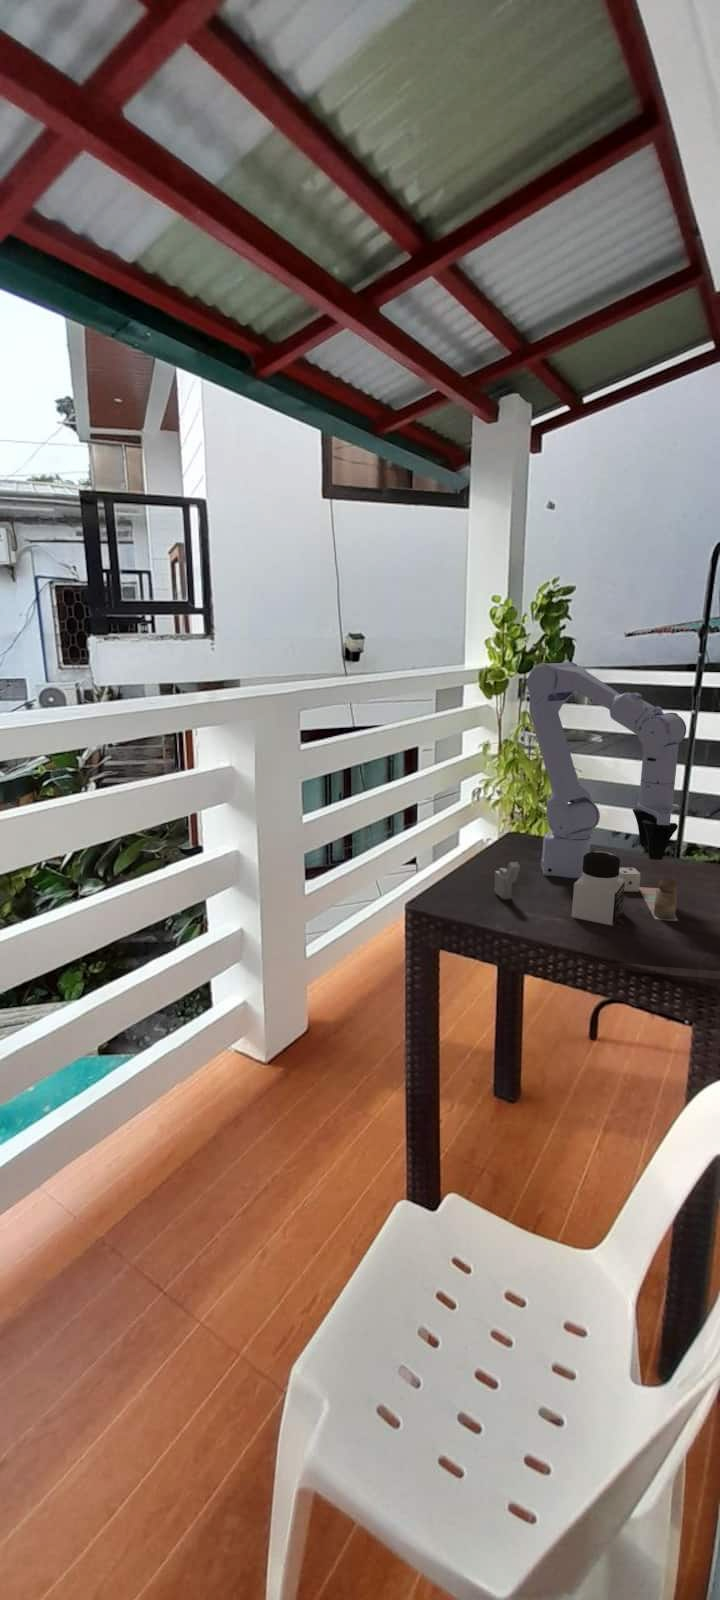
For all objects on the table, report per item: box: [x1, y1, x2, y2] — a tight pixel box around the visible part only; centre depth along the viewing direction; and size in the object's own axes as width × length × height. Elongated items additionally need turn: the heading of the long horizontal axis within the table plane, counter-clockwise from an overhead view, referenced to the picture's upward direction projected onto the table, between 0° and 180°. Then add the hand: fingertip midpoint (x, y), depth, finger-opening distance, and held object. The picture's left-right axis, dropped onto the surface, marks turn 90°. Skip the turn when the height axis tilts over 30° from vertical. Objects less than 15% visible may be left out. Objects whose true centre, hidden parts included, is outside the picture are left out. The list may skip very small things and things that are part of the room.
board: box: [639, 886, 679, 922], centre depth 129 cm, size 8×19×1 cm, turn 169°
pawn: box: [654, 876, 678, 919], centre depth 122 cm, size 3×3×7 cm
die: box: [619, 867, 641, 893], centre depth 136 cm, size 4×4×4 cm
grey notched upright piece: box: [493, 861, 521, 900], centre depth 133 cm, size 7×2×8 cm, turn 14°
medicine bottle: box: [571, 850, 625, 926], centre depth 122 cm, size 7×7×12 cm
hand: (651, 852), depth 130 cm, fingers open, 7 cm apart
